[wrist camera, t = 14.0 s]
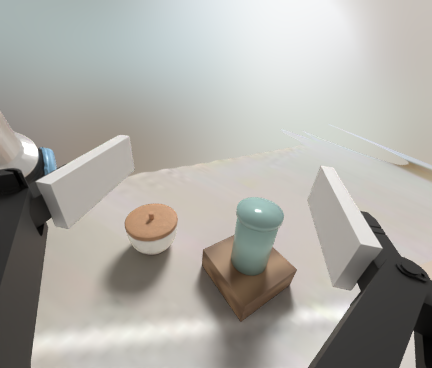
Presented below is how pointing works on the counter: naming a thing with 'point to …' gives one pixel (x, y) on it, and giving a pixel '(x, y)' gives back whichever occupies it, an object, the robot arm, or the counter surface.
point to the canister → (255, 234)
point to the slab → (246, 278)
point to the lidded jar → (151, 228)
